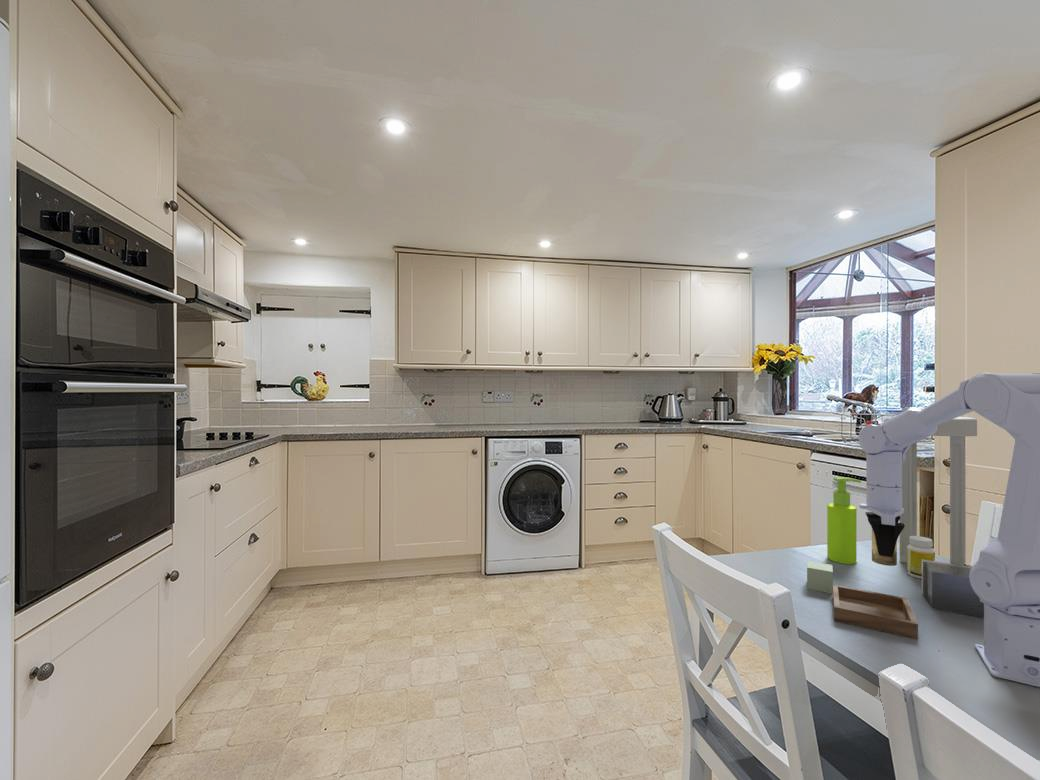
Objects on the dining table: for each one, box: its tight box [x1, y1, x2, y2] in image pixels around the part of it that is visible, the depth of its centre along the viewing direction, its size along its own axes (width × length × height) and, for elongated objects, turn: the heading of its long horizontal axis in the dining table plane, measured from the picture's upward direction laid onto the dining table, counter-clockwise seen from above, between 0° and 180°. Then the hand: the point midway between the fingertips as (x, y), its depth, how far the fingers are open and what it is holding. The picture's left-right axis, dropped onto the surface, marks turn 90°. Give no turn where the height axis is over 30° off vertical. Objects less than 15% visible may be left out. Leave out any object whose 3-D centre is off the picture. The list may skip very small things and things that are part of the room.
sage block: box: [806, 560, 834, 594], centre depth 99 cm, size 4×4×4 cm
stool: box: [890, 415, 978, 566], centre depth 114 cm, size 16×16×35 cm
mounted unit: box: [921, 560, 984, 619], centre depth 90 cm, size 8×9×7 cm
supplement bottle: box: [906, 535, 936, 580], centre depth 105 cm, size 5×5×8 cm
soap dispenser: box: [826, 476, 862, 565], centre depth 115 cm, size 6×7×20 cm
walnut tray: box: [832, 584, 919, 640], centre depth 86 cm, size 12×12×2 cm
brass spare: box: [871, 529, 898, 567], centre depth 94 cm, size 4×4×6 cm
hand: (884, 552), depth 94 cm, fingers closed on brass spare, 4 cm apart
